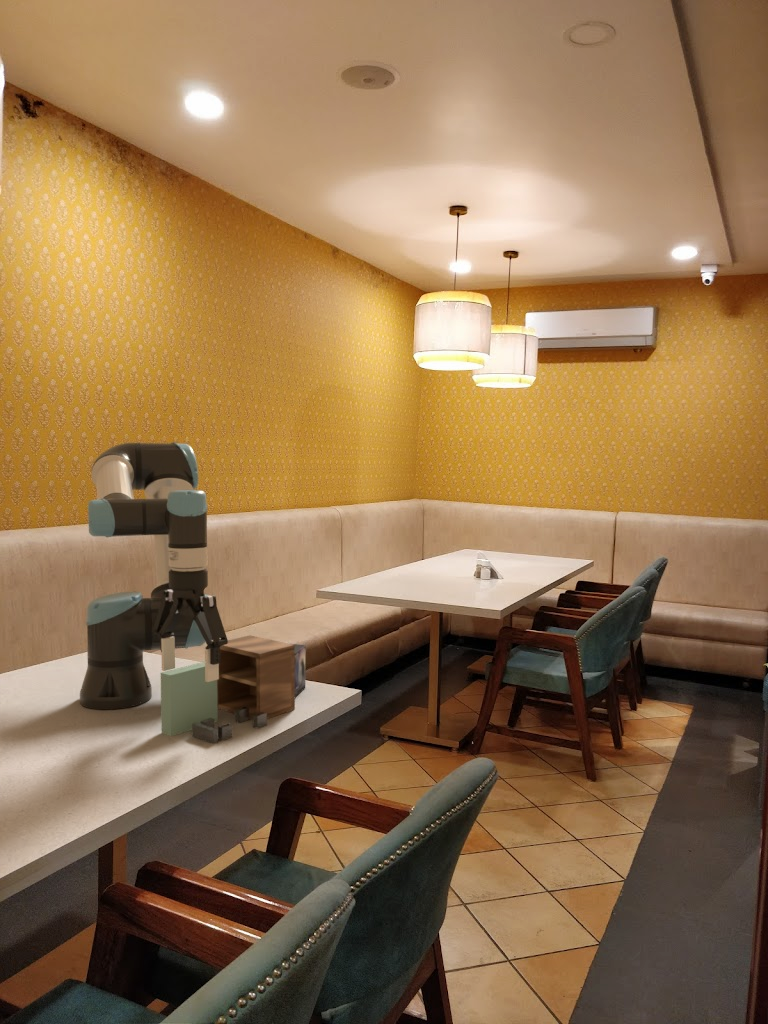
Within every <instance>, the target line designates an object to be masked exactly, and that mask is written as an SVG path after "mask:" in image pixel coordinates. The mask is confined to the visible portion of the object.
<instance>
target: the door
mask: <svg viewBox="0 0 768 1024" xmlns="http://www.w3.org/2000/svg"><path fill="white" fill-rule="evenodd" d="M160 712H161V713H160V714H161V715H160V717H161V719H160V720H161V721H160V722H161V723H160V724H161V734H162V735H167V736H168V737H173V736H176V735H179V734H183V733H185V732H188V731H192V724H193V723H196V722H197V723H200V724H201V721H202V720H205V719H208V718H213V719H215V722H218V720H219V719H218V715H219V714H218V708H217V680H214V681H210V682H205V661H202V662H198V663H194V664H190V665H187V666H183V667H179V668H178V667H177V668H174V669H170V670H166V671H162V672H160Z"/></svg>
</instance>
